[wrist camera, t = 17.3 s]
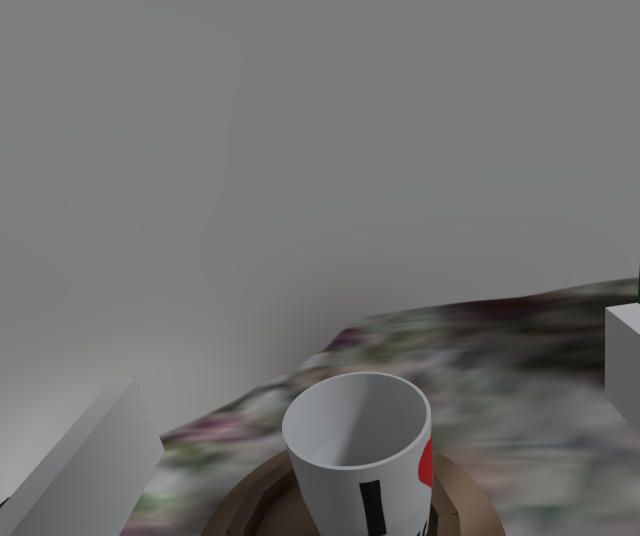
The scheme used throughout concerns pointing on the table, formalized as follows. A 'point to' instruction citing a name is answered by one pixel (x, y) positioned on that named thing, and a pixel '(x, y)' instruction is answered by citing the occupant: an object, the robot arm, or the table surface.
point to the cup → (363, 454)
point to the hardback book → (639, 290)
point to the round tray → (299, 527)
